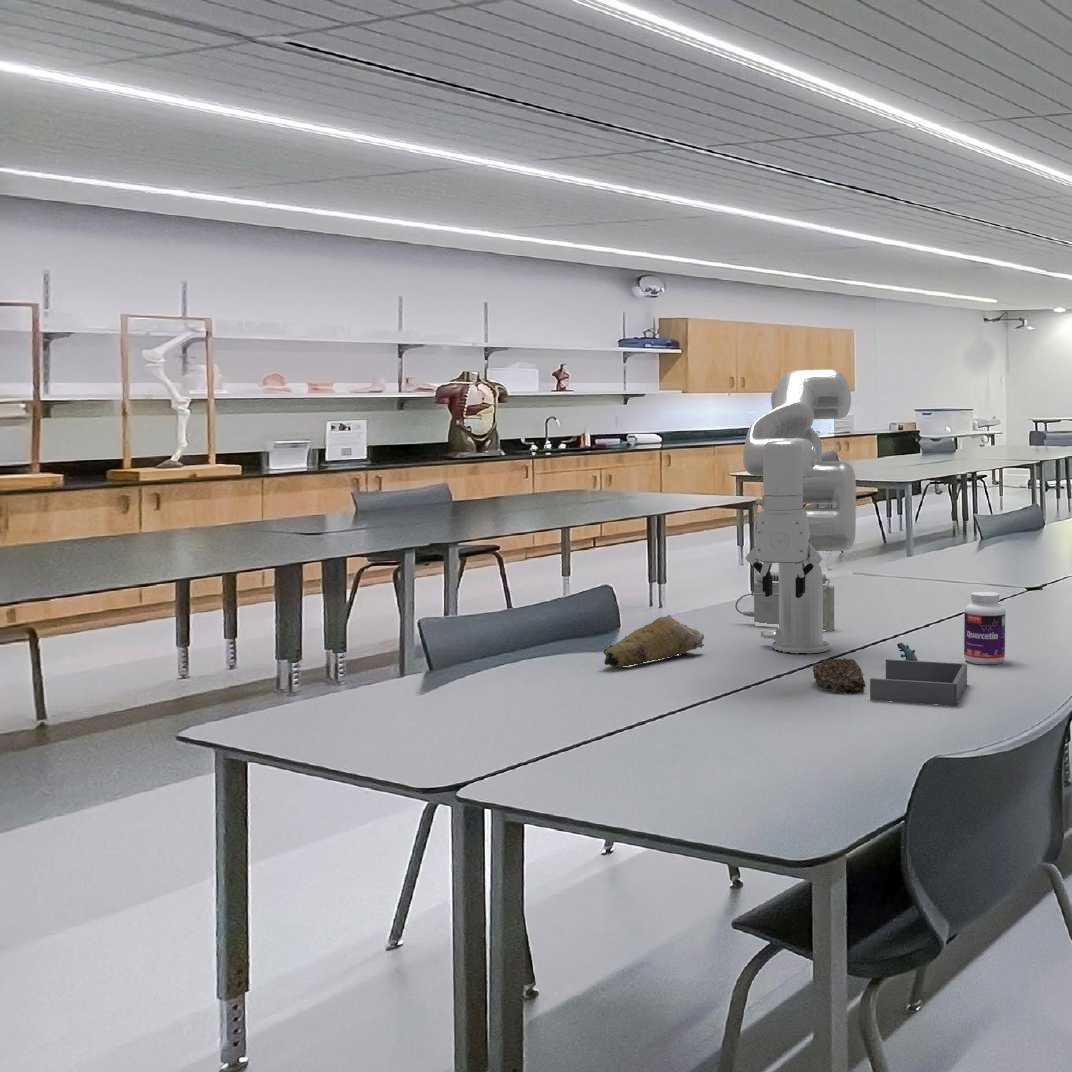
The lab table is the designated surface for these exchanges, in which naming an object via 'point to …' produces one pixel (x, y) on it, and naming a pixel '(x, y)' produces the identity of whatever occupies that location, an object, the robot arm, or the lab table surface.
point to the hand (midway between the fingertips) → (783, 595)
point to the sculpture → (907, 652)
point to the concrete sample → (839, 676)
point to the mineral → (653, 643)
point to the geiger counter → (769, 606)
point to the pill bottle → (984, 629)
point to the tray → (920, 682)
